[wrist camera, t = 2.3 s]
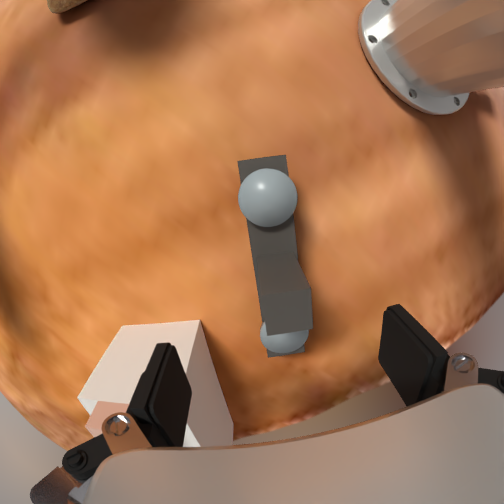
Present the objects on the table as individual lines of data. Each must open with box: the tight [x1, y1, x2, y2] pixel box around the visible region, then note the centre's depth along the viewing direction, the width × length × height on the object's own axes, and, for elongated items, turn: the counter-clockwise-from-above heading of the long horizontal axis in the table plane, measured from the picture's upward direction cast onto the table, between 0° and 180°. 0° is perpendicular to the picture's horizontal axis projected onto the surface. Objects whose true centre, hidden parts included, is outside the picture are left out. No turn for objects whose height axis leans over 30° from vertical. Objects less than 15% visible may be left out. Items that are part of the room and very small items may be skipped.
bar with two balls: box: [238, 155, 313, 357], centre depth 17 cm, size 4×15×9 cm, turn 8°
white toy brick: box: [77, 320, 234, 447], centre depth 20 cm, size 8×16×12 cm, turn 8°
